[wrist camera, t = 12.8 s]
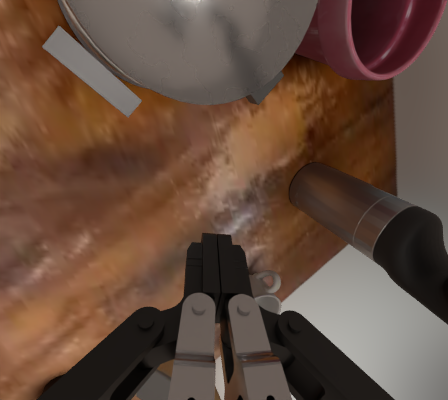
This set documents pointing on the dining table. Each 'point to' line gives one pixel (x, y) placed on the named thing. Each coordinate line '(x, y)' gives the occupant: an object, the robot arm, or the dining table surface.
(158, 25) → the lid
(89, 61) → the oval food canister
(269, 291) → the teacup
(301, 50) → the plant pot
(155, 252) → the dining table surface
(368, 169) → the dining table surface
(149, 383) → the sandwich container
